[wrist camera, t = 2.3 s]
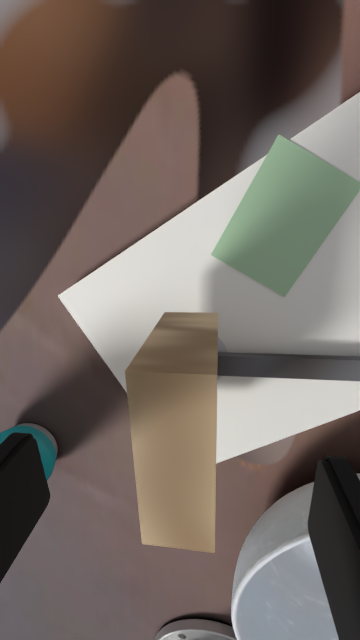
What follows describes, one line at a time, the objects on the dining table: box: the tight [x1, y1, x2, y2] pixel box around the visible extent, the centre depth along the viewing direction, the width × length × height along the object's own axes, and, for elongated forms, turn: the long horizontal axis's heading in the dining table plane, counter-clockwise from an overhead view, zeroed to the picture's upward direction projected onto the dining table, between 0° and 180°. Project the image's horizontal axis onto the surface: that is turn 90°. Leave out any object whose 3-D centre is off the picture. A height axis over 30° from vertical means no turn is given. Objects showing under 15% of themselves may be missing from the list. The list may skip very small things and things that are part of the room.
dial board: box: [58, 92, 360, 463], centre depth 18 cm, size 18×24×2 cm
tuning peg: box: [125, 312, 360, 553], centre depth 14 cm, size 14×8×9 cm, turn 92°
